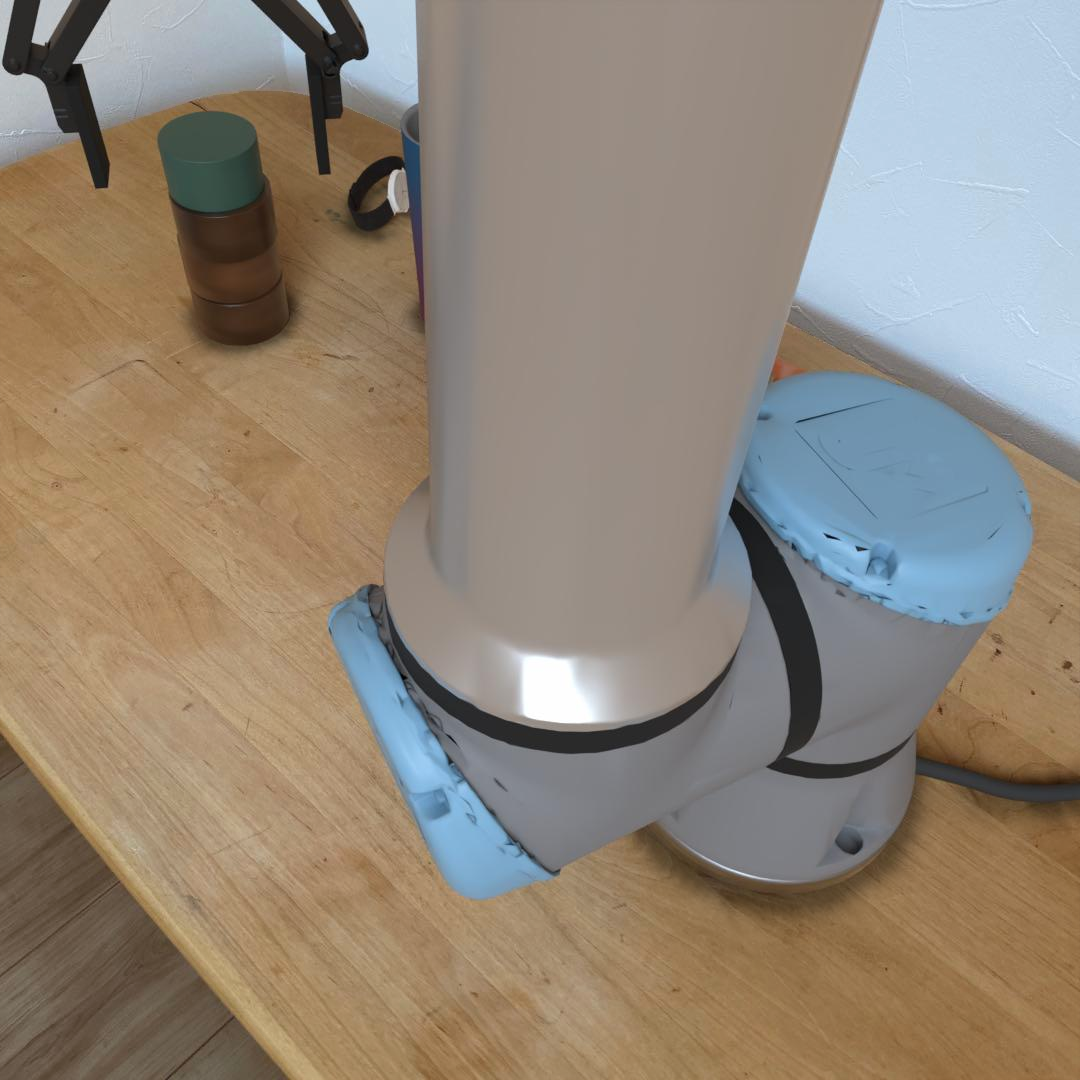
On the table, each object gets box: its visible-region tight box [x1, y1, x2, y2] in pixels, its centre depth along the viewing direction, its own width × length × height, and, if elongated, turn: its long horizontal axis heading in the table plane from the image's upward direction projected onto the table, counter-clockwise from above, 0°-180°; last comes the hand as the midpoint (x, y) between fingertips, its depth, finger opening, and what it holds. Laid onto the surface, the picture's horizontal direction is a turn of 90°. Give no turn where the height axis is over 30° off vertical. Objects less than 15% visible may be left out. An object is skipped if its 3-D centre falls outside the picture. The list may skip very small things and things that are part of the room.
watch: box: [347, 155, 410, 232], centre depth 85 cm, size 8×5×4 cm, turn 166°
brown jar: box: [167, 172, 290, 346], centre depth 73 cm, size 7×7×10 cm
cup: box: [399, 102, 425, 324], centre depth 72 cm, size 7×7×15 cm
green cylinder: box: [156, 110, 264, 212], centre depth 67 cm, size 6×6×4 cm
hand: (215, 170), depth 68 cm, fingers open, 13 cm apart
